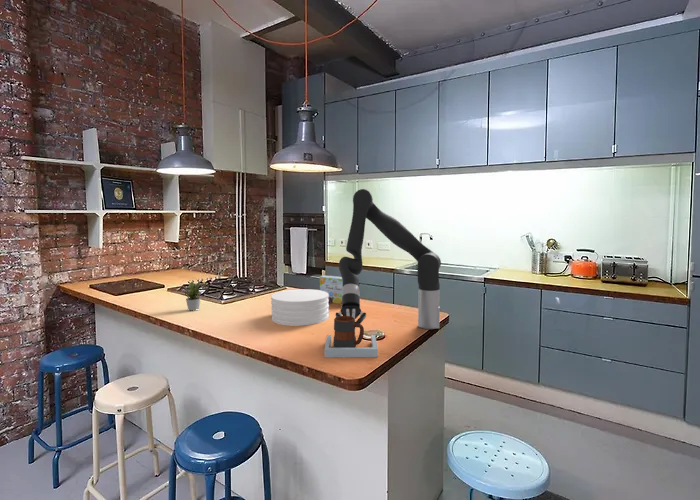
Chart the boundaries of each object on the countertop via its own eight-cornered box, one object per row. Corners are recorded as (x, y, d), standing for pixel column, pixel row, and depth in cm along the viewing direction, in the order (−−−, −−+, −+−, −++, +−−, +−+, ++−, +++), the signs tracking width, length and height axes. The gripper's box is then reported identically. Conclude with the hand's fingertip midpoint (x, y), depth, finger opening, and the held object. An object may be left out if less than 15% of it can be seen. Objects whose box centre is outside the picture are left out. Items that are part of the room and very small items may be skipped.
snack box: (319, 302, 218) (319, 276, 217) (324, 300, 223) (324, 275, 222) (351, 306, 208) (351, 279, 207) (356, 303, 213) (356, 277, 212)
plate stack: (338, 320, 181) (338, 296, 180) (283, 329, 167) (282, 304, 166) (314, 307, 205) (314, 287, 204) (264, 315, 192) (263, 292, 190)
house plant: (215, 308, 205) (214, 278, 203) (194, 314, 192) (193, 283, 191) (197, 305, 211) (196, 277, 210) (176, 311, 199) (174, 281, 197)
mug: (359, 355, 136) (359, 323, 135) (329, 350, 141) (329, 320, 139) (367, 347, 144) (367, 317, 143) (339, 343, 149) (338, 314, 147)
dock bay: (375, 342, 149) (375, 334, 149) (377, 357, 134) (377, 348, 134) (327, 342, 149) (327, 335, 149) (324, 357, 134) (324, 349, 134)
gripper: (334, 292, 155) (333, 330, 144) (366, 292, 155) (368, 330, 144) (335, 301, 161) (334, 339, 150) (366, 301, 161) (367, 339, 150)
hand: (350, 335), depth 147 cm, fingers closed
